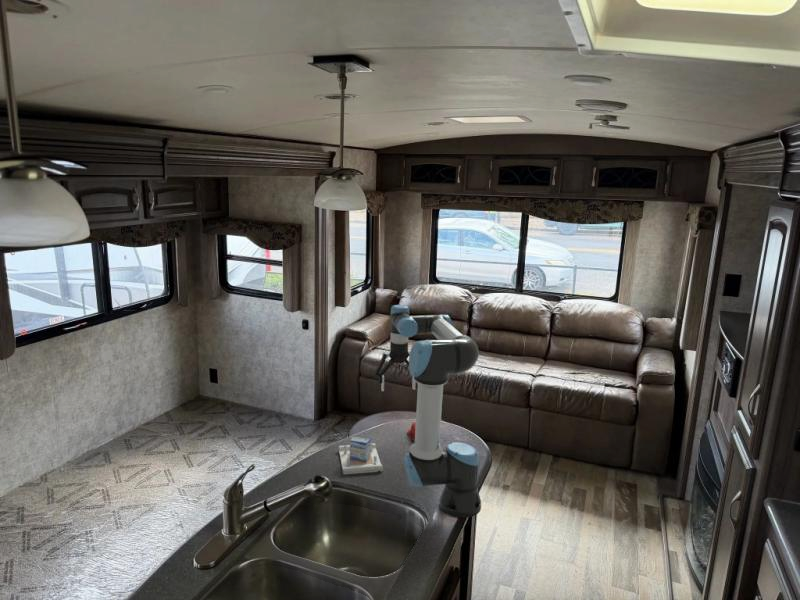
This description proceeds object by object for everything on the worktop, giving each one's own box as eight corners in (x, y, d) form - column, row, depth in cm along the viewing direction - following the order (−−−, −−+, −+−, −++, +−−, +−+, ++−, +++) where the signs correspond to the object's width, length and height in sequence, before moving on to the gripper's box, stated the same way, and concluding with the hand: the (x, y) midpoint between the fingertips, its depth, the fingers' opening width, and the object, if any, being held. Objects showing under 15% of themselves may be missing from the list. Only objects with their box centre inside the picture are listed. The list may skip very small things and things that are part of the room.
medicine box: (349, 459, 232) (349, 440, 230) (353, 454, 236) (353, 435, 234) (366, 462, 230) (367, 443, 228) (370, 457, 234) (370, 438, 232)
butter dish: (430, 430, 264) (430, 413, 262) (436, 441, 253) (437, 424, 251) (406, 432, 262) (407, 415, 260) (412, 443, 251) (412, 425, 249)
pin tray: (382, 471, 225) (382, 461, 224) (343, 474, 222) (343, 464, 221) (375, 448, 244) (375, 439, 244) (339, 451, 241) (339, 441, 240)
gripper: (426, 338, 238) (424, 384, 242) (368, 340, 233) (368, 387, 238) (430, 343, 231) (428, 391, 235) (371, 345, 226) (370, 394, 230)
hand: (398, 389), depth 236 cm, fingers open, 13 cm apart
